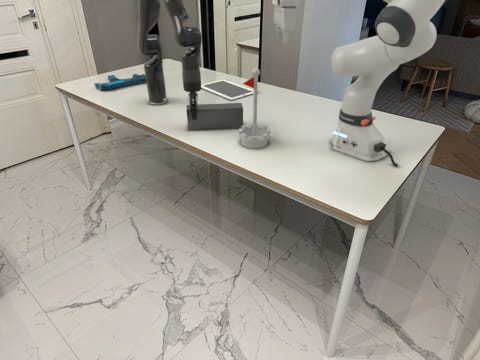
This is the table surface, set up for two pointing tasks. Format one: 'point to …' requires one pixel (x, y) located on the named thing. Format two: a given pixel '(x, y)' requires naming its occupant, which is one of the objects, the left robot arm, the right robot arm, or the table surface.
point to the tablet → (227, 89)
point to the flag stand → (254, 121)
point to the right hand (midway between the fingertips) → (282, 39)
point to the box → (216, 116)
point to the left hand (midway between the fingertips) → (194, 116)
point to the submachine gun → (120, 81)
